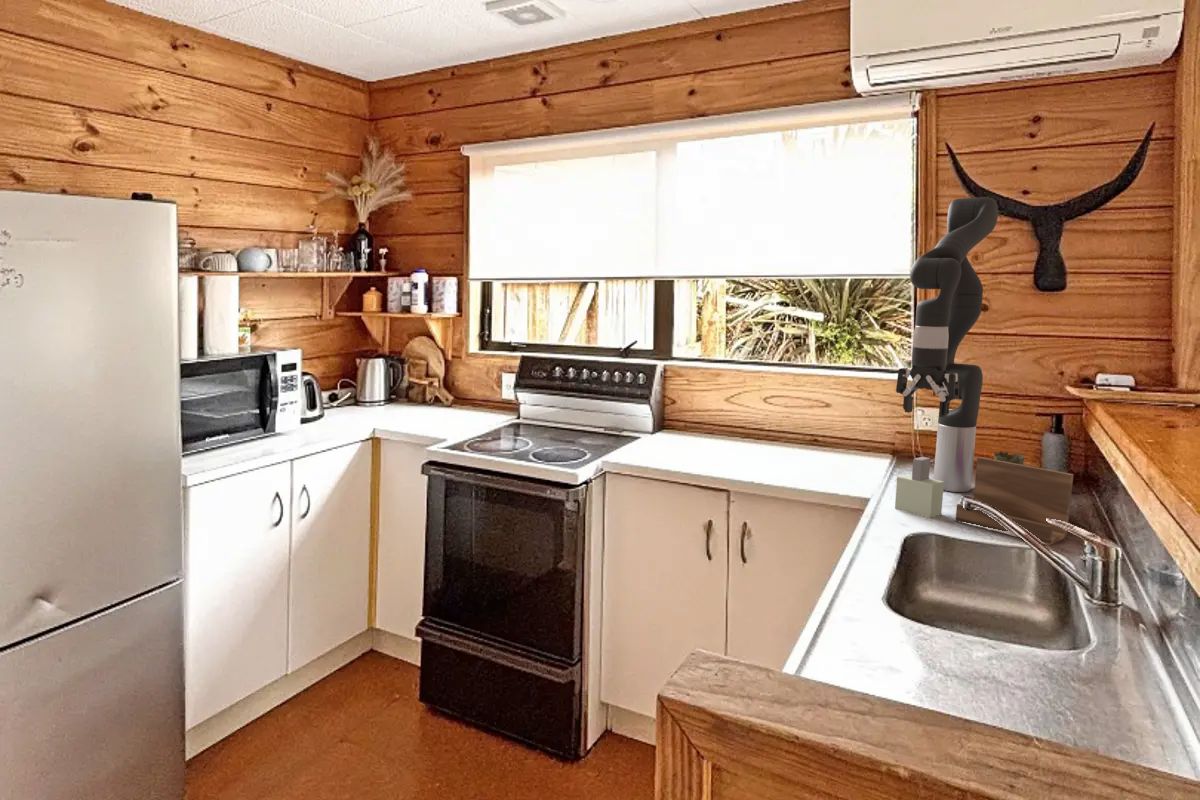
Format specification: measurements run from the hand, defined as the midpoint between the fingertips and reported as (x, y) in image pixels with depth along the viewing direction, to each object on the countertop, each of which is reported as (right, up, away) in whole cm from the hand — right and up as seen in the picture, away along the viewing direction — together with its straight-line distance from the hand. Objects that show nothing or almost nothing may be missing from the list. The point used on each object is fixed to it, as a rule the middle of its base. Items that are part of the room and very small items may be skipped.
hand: (925, 414), depth 180 cm
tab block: (0, -23, +4) cm, 24 cm away
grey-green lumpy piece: (+36, -19, +31) cm, 51 cm away
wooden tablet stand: (+15, -25, -9) cm, 31 cm away
